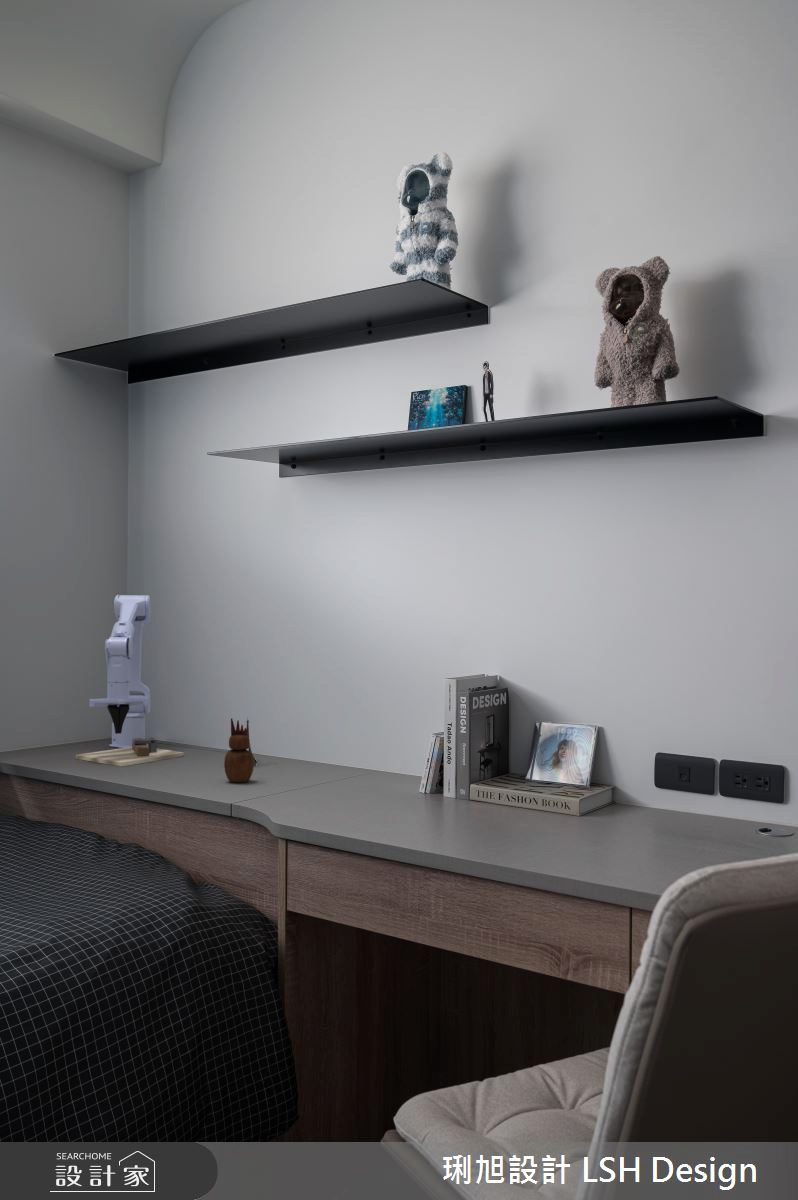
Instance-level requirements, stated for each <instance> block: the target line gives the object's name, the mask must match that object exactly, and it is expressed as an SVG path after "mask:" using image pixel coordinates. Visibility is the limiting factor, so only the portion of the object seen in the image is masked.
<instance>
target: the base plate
mask: <svg viewBox="0 0 798 1200" xmlns="http://www.w3.org/2000/svg"><path fill="white" fill-rule="evenodd" d="M184 756H185V752H183V751H176V750H171V749H170V750H169V749H162V748H157V752H155V753H150V752H149V755H147V756H137V754H136V753H135V751H134V749H133V748H132V747H127V748H114V749H108V750H100V751H93V752H86V753H81V754H75V759H77V760H80V761H88V762H92V763H98V764H99V763H100V764H105V765H110V766H116V767H126V766H132V765H138V764H139V765H140V764H144V763H150V762H157V761H162V760H168V759H175V758H180V757H181V758H182V757H184Z"/></svg>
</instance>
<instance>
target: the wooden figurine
mask: <svg viewBox="0 0 798 1200" xmlns="http://www.w3.org/2000/svg"><path fill="white" fill-rule="evenodd" d="M250 741H251V739H250V736H249V737H248V736H247V727H245V728H244V725H243V724H241V726H240V721H239V720H237V722H236V727H235V723H234V721H233V718H230V737H229V739H228V746H229V747H228V748H229V749H230V750H228V751H227V752H226V753H225V756H224V760H223V761H224V763H223V764H224V767H223V768H224V772H225V776H226V778H227V780H228V781H229V782H231V783H234V782H243V783H246V782H248V781H250V779H251V777H252V774H253V772H254V768H255V767H254V758H255V756H254V754H253V755H252V753H253V752H252V753H251V752H250V751H249V749H248V748H249V745H251V742H250ZM253 756H254V757H253Z"/></svg>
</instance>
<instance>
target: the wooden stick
mask: <svg viewBox="0 0 798 1200" xmlns="http://www.w3.org/2000/svg"><path fill="white" fill-rule="evenodd" d="M135 739H142V737H135ZM147 744H148V743H146V744H134V743H132V748H133V749H134V751H135V753H136V754H137V756H147V755H149V747H148V745H147Z"/></svg>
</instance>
